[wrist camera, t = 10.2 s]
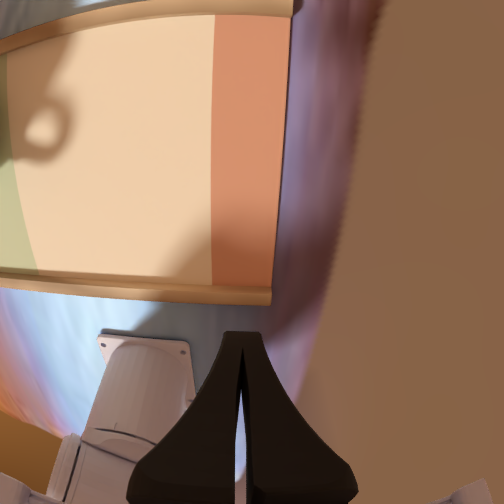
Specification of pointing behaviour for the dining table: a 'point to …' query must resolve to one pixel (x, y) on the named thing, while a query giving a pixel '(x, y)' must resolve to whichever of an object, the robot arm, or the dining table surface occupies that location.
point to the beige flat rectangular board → (145, 151)
